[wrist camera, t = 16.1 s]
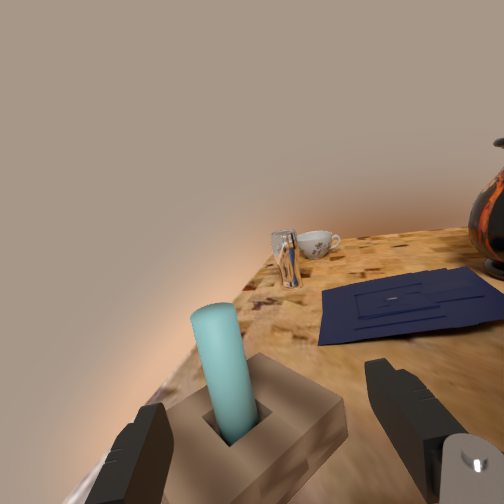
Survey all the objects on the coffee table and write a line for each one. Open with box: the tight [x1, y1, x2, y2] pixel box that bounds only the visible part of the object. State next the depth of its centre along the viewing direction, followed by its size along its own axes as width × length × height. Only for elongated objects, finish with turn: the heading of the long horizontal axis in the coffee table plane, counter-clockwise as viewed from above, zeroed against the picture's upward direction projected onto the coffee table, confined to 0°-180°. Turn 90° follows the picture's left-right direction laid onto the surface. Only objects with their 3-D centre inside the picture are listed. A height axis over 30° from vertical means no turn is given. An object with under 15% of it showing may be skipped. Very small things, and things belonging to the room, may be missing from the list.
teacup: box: [297, 231, 340, 259], centre depth 101 cm, size 15×12×8 cm
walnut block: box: [162, 353, 348, 504], centre depth 32 cm, size 18×14×5 cm
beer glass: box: [271, 229, 303, 290], centre depth 77 cm, size 7×7×15 cm
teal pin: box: [190, 303, 260, 447], centre depth 30 cm, size 4×4×16 cm
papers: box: [318, 267, 504, 345], centre depth 56 cm, size 24×30×4 cm
